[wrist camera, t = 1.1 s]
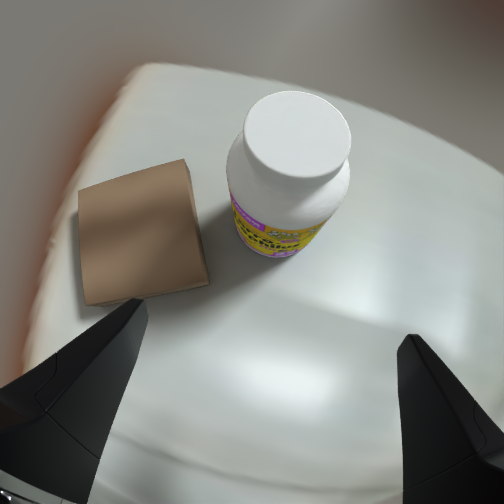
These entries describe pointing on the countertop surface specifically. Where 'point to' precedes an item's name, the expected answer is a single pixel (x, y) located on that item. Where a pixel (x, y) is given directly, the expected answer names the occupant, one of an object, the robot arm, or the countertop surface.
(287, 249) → the supplement bottle
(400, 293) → the countertop surface
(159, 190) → the walnut pedestal
